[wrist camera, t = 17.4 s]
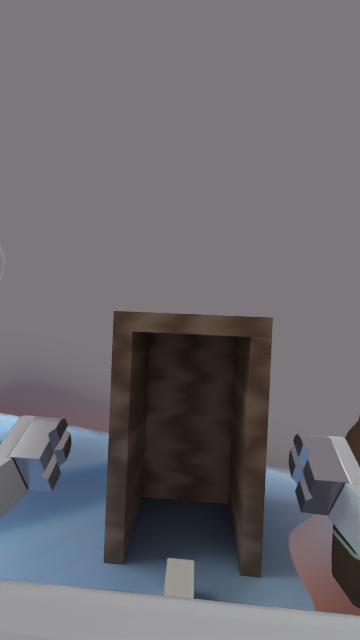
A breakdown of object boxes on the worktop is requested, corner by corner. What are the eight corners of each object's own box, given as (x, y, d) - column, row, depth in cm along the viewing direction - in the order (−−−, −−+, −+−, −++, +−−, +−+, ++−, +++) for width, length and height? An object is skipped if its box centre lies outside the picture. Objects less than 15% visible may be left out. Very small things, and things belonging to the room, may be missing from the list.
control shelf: (103, 562, 30) (113, 311, 29) (132, 487, 43) (139, 312, 42) (260, 577, 29) (272, 317, 28) (240, 496, 42) (249, 317, 41)
